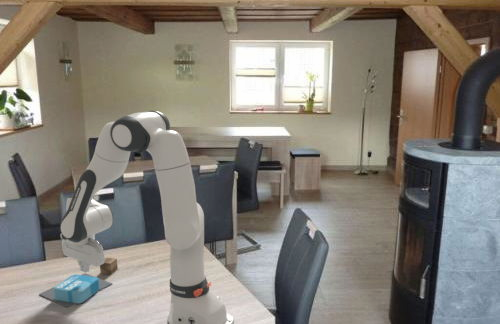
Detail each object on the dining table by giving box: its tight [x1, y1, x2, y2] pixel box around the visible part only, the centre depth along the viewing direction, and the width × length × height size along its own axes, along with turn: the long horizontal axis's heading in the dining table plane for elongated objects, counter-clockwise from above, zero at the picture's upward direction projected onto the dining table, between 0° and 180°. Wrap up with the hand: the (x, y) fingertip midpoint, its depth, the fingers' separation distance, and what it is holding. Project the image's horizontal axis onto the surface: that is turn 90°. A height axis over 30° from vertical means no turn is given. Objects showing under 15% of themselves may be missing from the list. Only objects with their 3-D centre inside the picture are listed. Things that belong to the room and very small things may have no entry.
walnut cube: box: [99, 257, 119, 275], centre depth 176 cm, size 5×5×5 cm
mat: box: [38, 272, 113, 308], centre depth 161 cm, size 17×20×1 cm
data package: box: [54, 274, 100, 304], centre depth 157 cm, size 12×4×12 cm
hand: (84, 271), depth 156 cm, fingers closed
